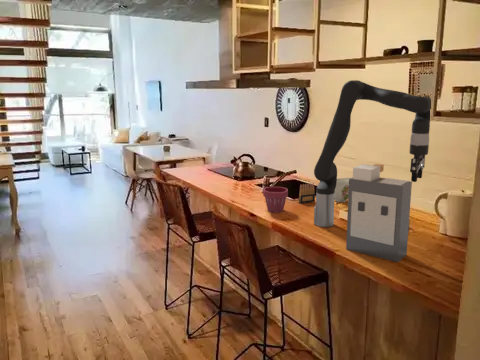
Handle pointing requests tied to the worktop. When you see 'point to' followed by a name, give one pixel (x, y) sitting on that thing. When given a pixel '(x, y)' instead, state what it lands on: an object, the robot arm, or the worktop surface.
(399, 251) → the box
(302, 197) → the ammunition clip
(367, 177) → the block
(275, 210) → the plant pot
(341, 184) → the pitcher
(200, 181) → the worktop surface
